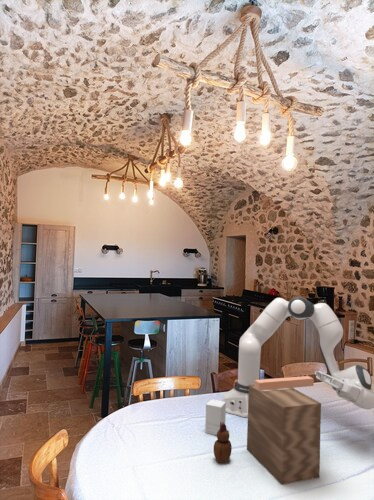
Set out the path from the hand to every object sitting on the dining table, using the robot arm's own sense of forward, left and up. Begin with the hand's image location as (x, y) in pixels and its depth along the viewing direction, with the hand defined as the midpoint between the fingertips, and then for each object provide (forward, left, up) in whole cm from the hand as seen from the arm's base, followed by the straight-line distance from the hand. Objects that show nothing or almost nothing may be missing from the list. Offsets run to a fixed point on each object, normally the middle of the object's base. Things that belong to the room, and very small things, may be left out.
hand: (323, 376), depth 150 cm
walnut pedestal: (-15, -21, -29) cm, 39 cm away
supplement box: (-45, -7, -29) cm, 54 cm away
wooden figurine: (-36, -29, -29) cm, 55 cm away
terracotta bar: (-15, -13, -3) cm, 20 cm away
